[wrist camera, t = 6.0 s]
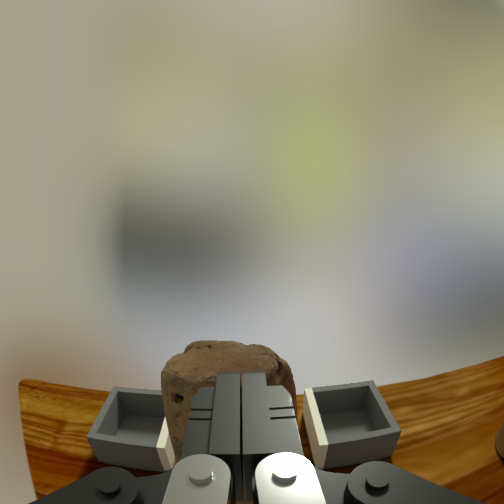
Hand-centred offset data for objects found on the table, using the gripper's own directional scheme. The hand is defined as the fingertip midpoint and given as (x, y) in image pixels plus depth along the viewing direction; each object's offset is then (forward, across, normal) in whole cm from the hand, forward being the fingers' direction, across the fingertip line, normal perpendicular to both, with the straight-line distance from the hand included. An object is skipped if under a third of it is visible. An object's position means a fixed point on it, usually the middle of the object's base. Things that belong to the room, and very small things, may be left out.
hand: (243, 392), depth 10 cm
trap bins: (+21, -1, -26) cm, 33 cm away
